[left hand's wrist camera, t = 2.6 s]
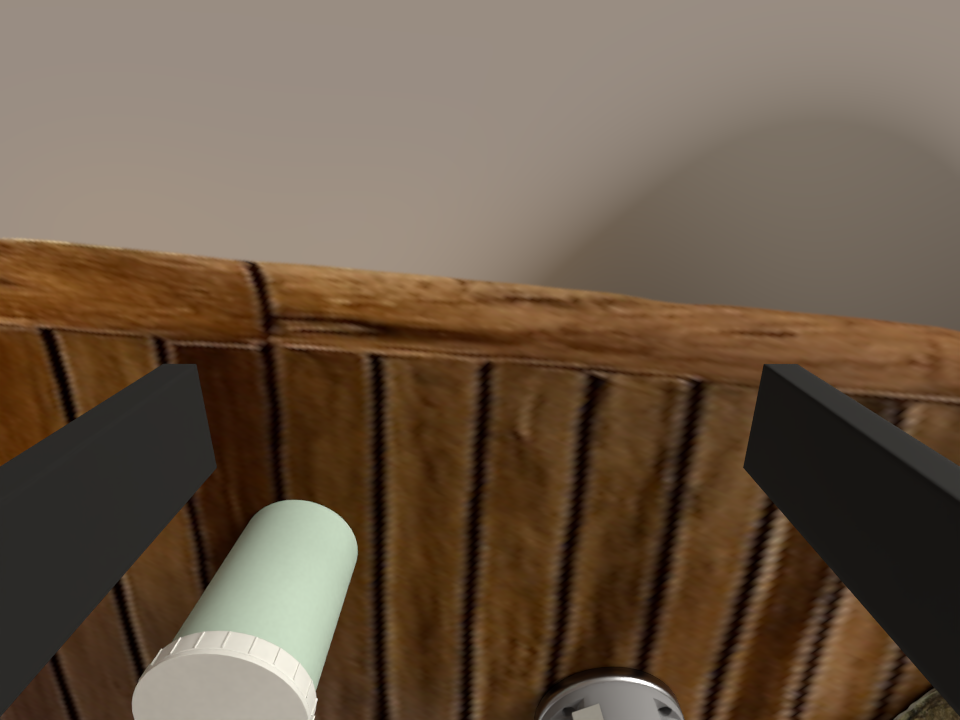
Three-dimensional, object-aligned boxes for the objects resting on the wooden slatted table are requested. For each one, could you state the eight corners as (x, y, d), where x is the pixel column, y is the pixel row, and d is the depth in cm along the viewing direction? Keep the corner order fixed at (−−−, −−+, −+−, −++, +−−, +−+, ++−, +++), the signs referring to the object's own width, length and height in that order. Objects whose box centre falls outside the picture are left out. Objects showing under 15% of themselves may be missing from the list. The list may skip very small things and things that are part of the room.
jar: (228, 564, 49) (121, 732, 34) (269, 481, 46) (171, 628, 31) (330, 606, 51) (269, 784, 36) (376, 529, 47) (331, 689, 33)
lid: (124, 715, 36) (108, 741, 34) (177, 603, 32) (162, 626, 31) (279, 770, 37) (270, 797, 36) (344, 669, 34) (338, 694, 32)
